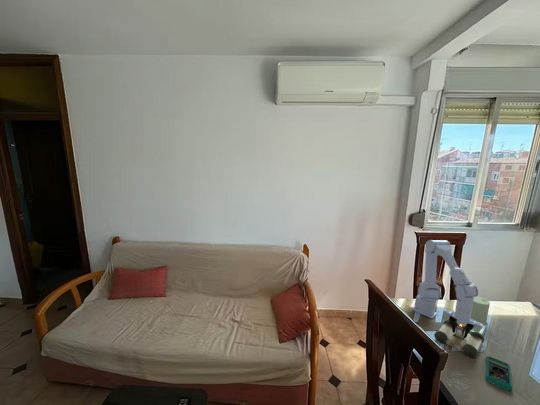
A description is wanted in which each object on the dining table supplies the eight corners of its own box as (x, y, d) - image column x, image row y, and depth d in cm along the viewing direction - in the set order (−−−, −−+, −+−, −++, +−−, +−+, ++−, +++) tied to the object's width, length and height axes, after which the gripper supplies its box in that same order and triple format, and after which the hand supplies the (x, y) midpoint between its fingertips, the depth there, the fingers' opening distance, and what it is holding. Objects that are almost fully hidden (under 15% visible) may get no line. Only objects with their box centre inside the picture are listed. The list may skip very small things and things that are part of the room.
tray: (447, 327, 125) (448, 321, 125) (453, 319, 132) (454, 313, 131) (479, 341, 115) (481, 335, 115) (484, 332, 122) (485, 326, 122)
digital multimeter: (485, 382, 94) (486, 375, 93) (485, 359, 105) (486, 354, 104) (511, 394, 89) (512, 387, 89) (509, 369, 100) (510, 363, 100)
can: (491, 324, 128) (495, 304, 126) (474, 324, 128) (477, 303, 126) (477, 314, 137) (480, 294, 135) (460, 313, 137) (463, 294, 136)
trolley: (433, 339, 116) (435, 329, 115) (443, 326, 126) (444, 318, 125) (476, 360, 104) (477, 349, 103) (483, 344, 113) (485, 335, 113)
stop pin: (452, 341, 115) (454, 324, 114) (454, 337, 118) (456, 321, 116) (462, 346, 112) (465, 329, 111) (464, 342, 115) (467, 325, 113)
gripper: (442, 304, 115) (438, 329, 117) (481, 319, 104) (477, 347, 106) (447, 299, 120) (443, 324, 122) (485, 313, 108) (480, 340, 111)
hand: (459, 334), depth 114 cm, fingers closed on stop pin, 4 cm apart
